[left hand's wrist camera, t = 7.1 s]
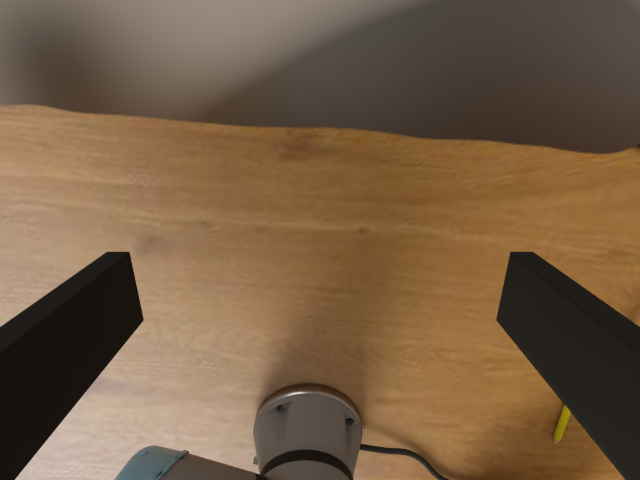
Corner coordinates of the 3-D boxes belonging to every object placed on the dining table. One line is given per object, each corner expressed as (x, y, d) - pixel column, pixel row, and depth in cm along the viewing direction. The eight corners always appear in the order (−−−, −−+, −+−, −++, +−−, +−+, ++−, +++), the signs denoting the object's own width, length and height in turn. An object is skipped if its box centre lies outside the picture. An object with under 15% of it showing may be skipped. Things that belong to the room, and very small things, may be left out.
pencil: (582, 350, 47) (587, 355, 46) (589, 350, 47) (595, 355, 46) (549, 441, 53) (553, 447, 52) (555, 441, 53) (560, 447, 52)
